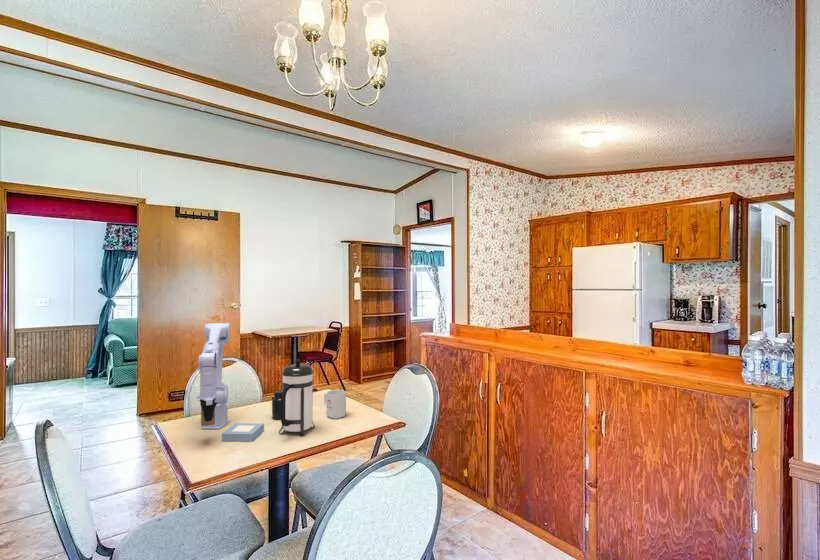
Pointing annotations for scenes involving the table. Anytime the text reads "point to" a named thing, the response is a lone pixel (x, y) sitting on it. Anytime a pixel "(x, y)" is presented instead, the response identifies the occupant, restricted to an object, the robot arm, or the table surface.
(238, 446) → the table surface
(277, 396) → the supplement bottle
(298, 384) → the coffee press
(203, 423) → the walnut block
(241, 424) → the slate plinth
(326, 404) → the mug
